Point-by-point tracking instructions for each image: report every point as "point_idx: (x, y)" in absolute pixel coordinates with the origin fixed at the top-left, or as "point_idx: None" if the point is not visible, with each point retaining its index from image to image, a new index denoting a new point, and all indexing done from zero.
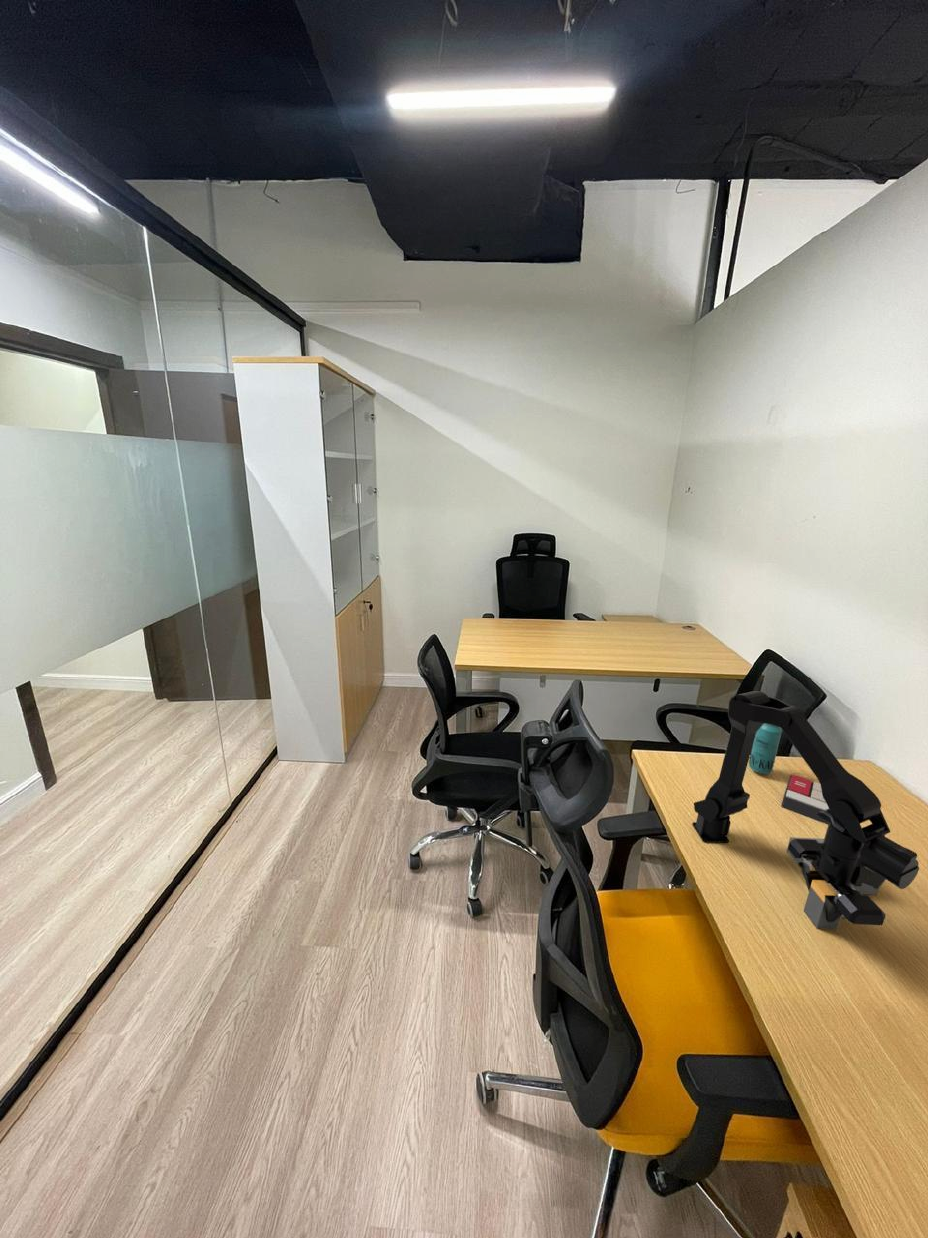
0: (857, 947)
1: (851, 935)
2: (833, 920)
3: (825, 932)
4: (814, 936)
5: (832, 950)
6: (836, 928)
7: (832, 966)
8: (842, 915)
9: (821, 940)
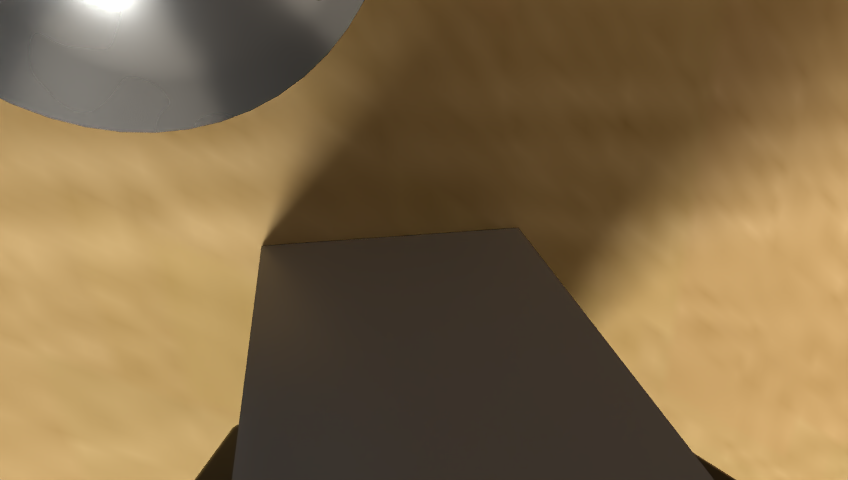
0: (746, 141)
1: (604, 100)
2: None
3: None
4: None
5: (724, 398)
6: (520, 238)
7: (833, 463)
8: (334, 41)
9: None
